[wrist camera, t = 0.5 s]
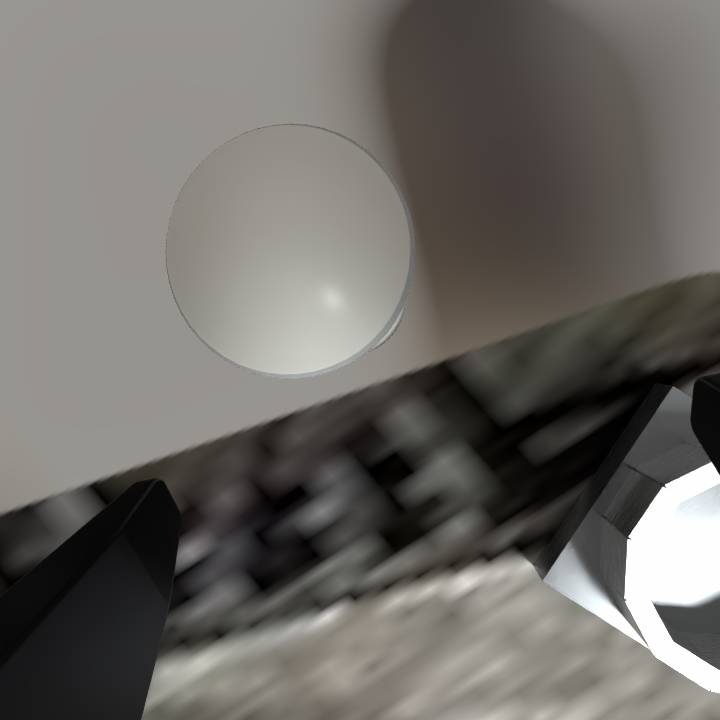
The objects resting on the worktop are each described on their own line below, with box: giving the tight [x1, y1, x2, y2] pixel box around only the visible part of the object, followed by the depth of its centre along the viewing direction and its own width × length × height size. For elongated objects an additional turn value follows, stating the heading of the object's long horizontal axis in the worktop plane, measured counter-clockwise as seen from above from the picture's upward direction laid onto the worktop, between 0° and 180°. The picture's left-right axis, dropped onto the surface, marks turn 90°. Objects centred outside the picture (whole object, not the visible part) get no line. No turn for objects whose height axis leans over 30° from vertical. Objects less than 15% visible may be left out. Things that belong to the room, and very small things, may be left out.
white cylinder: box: [166, 124, 415, 379], centre depth 17 cm, size 5×5×13 cm
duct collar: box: [534, 383, 720, 693], centre depth 21 cm, size 10×10×4 cm
